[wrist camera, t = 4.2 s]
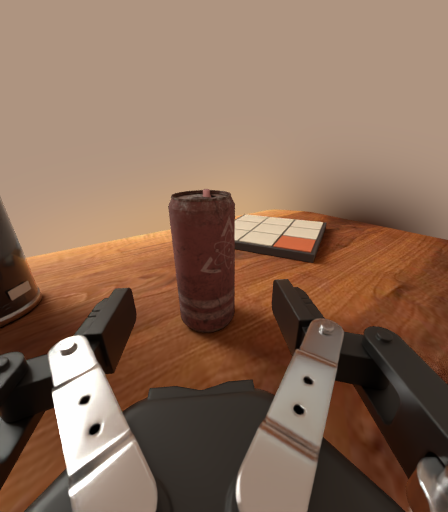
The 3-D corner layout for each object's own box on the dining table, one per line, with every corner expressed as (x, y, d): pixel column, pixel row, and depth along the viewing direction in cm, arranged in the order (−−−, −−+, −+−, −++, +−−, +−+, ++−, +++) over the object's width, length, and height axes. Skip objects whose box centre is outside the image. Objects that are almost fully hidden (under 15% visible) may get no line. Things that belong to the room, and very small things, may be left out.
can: (230, 298, 30) (229, 187, 24) (237, 332, 24) (239, 197, 18) (183, 301, 29) (171, 189, 23) (179, 337, 23) (162, 199, 18)
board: (204, 243, 48) (203, 236, 48) (244, 219, 66) (244, 213, 65) (313, 262, 39) (314, 253, 38) (325, 228, 57) (326, 221, 56)
